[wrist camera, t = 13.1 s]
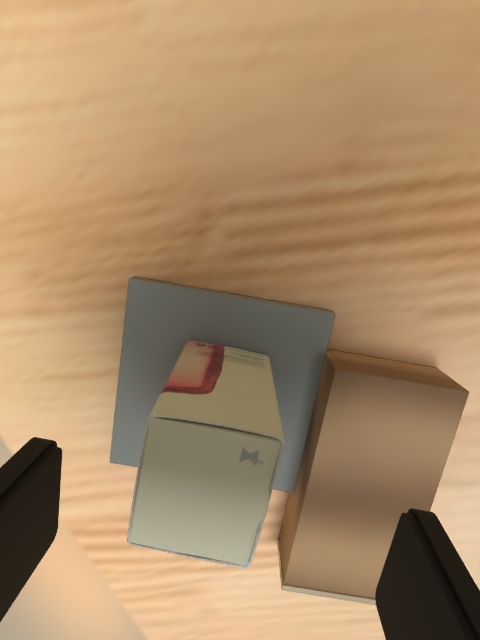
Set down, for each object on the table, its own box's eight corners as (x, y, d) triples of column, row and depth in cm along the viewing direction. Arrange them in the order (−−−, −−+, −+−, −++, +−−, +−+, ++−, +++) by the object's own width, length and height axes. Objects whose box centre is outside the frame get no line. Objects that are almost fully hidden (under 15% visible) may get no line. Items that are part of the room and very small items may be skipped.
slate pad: (133, 276, 19) (128, 278, 19) (331, 310, 20) (335, 314, 19) (114, 454, 22) (109, 462, 21) (291, 483, 22) (293, 492, 21)
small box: (186, 336, 19) (145, 409, 11) (272, 354, 19) (288, 438, 12) (169, 427, 20) (121, 549, 13) (249, 444, 20) (251, 574, 13)
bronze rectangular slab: (322, 348, 20) (335, 369, 17) (438, 368, 20) (471, 393, 17) (277, 542, 23) (281, 590, 20) (379, 558, 23) (399, 608, 20)
